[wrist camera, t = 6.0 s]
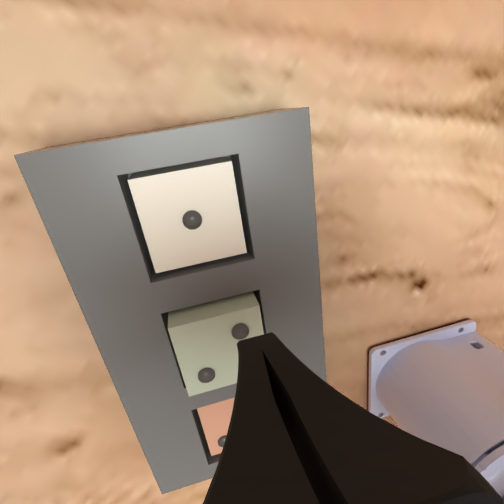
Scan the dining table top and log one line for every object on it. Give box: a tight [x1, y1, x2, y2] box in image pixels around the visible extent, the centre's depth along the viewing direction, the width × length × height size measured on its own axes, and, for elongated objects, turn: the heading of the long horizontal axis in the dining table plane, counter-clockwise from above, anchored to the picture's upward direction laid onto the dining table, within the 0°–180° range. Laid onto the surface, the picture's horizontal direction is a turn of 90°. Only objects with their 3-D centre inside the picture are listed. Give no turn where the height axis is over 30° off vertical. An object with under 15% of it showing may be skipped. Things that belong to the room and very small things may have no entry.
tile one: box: [128, 156, 247, 273], centre depth 16 cm, size 5×5×2 cm
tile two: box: [168, 291, 264, 397], centre depth 18 cm, size 5×5×2 cm
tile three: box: [197, 398, 235, 456], centre depth 22 cm, size 5×5×2 cm
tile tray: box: [14, 107, 326, 494], centre depth 19 cm, size 12×22×4 cm, turn 9°
